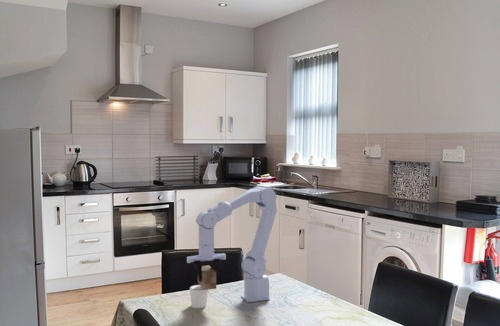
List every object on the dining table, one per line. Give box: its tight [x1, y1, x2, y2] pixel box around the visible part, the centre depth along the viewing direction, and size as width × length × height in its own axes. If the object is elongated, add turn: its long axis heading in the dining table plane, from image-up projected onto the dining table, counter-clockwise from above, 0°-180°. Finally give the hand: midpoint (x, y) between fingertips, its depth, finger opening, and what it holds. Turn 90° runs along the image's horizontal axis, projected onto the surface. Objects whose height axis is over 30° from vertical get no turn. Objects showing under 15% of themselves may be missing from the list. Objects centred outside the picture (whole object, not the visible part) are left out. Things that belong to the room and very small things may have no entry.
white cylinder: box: [189, 284, 209, 309], centre depth 169 cm, size 7×7×7 cm
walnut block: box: [197, 264, 217, 291], centre depth 167 cm, size 4×10×6 cm, turn 21°
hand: (206, 280), depth 167 cm, fingers closed on walnut block, 4 cm apart
